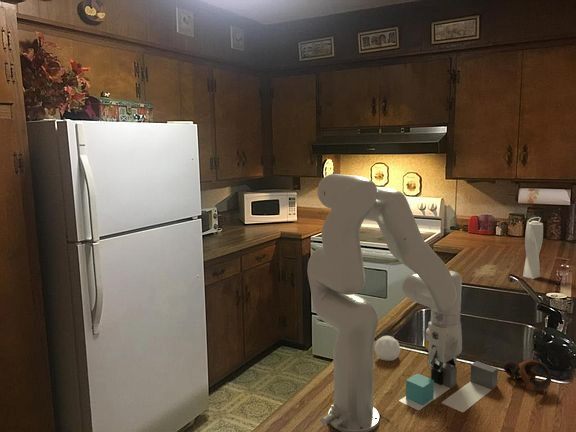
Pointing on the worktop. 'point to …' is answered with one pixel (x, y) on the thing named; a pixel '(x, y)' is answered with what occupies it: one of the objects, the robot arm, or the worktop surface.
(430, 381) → the cube
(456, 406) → the empty strip
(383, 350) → the ball
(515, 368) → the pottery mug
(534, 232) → the skyscraper
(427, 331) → the supplement bottle
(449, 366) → the strip with cube
